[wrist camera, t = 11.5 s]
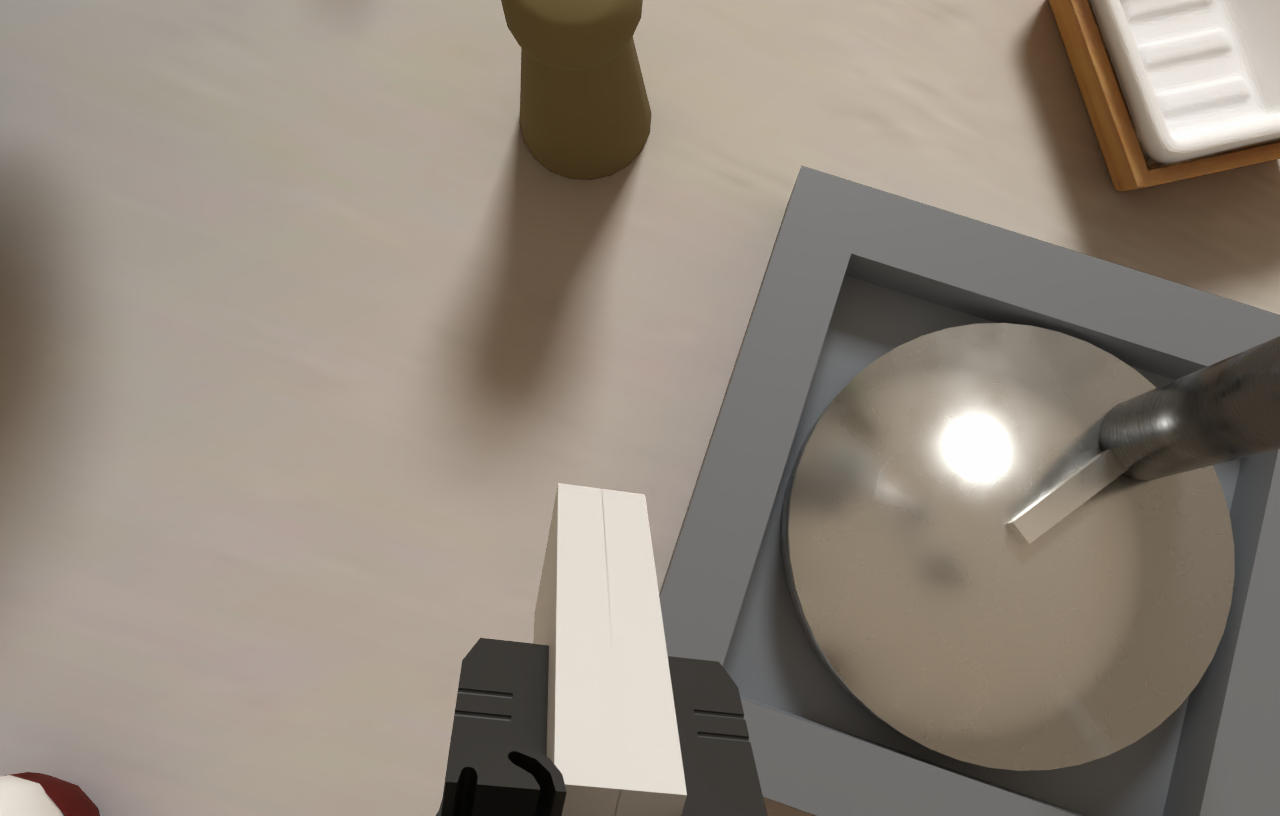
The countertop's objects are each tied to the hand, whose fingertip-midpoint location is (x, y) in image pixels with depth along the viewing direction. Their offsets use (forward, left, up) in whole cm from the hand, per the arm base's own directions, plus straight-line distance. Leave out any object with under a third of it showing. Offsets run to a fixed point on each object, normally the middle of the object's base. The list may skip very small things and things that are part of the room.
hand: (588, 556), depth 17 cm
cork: (-8, +19, -25) cm, 33 cm away
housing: (+14, +6, -25) cm, 29 cm away
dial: (+14, +6, -23) cm, 27 cm away
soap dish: (+16, +30, -25) cm, 42 cm away
